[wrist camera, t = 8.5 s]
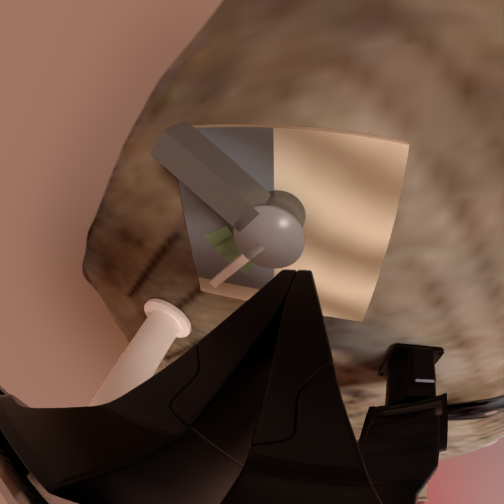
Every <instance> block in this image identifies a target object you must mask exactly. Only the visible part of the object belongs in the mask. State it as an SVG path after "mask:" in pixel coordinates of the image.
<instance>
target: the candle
mask: <svg viewBox="0 0 504 504" xmlns="http://www.w3.org/2000/svg"><path fill="white" fill-rule="evenodd" d="M144 311H145V314H146V316H147V319H146V320H145V322H144V323H143V324H142V326H141V327H140V329H139V330H138V332H137V333H136V334H135V336H134V337H133V339H132V340H131V342H130V343H129V345H128V346H127V348H126V349H125V351H124V352H123V353H122V355H121V356H120V358H119V360H118V361H117V363H116V364H115V366H114V367H113V368H112V370H111V372H110V373H109V375H108V376H107V378H106V379H105V381H104V382H103V384H102V385H101V387H100V388H99V390H98V392H97V393H96V395H95V396H94V398H93V400H92V401H91V403H90V404H89V406H97V405H102V404H105V403H108V402H111V401H113V400H115V399H117V398H119V397H121V396H122V395H124V394H126V393H127V392H129V391H130V390H132V389H134V388H135V387H137V386H138V385H140V384H142V383H143V382H145V381H146V380H148V379H149V378H151V377H152V376H153V375H154V373H155V371H156V370H157V368H158V366H159V365H160V363H161V361H162V359H163V358H164V356H165V354H166V353H167V351H168V349H169V348H170V346H171V344H172V343H173V341H174V339H175V338H176V337H179V338H183V337H186V336H188V335H189V333H190V332H191V324H190V321H189V320H188V318H187V317H186V315H185V314H184V313H183V312H182V311H181V310H180V309H178V308H177V307H176V306H174V305H173V304H171V303H169V302H167V301H164V300H162V299H157V298H153V299H149V300H148V301H147V302H146V303H145V305H144Z"/></svg>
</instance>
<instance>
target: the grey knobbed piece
mask: <svg viewBox="0 0 504 504" xmlns="http://www.w3.org/2000/svg"><path fill="white" fill-rule="evenodd" d="M150 155H151V156H152V157H154V158H155V159H156V160H157V161H158V162H159V163H161V164H162V165H163V166H164V167H165V168H166V169H167V170H169V171H170V172H171V173H172V174H173V175H174V176H175V177H177V178H178V179H179V180H180V181H181V182H182V183H184V184H185V185H186V186H187V187H188V188H189V189H190V190H192V191H193V192H194V193H195V194H196V195H197V196H198V197H200V198H201V199H202V200H203V201H204V202H205V203H206V204H208V205H209V206H210V207H211V208H212V209H213V210H214V211H216V212H217V213H218V214H219V215H220V216H221V217H222V218H224V219H225V220H226V221H227V222H228V223H229V224H230V225H232V226H233V227H234V232H233V233H234V240H235V243H236V245H237V247H238V249H239V250H240V252H241V253H242V254H241V255H240V256H238V257H237V258H236V259H235V260H234V261H232V262H231V263H230V264H229V265H228V266H227V267H225V268H224V269H223V270H222V271H221V272H220V273H218V274H217V275H216V276H215V277H214V278H212V279H211V281H210V282H209V283H210V284H211V285H212V286H213V287H215V288H216V287H217V286H218V285H219V284H221V283H222V282H223V281H225V280H226V279H227V278H228V277H230V276H231V275H232V274H233V273H235V272H236V271H237V270H238V269H240V268H241V267H242V266H243V265H245V264H246V263H247V262H249V261H251V262H253V263H255V264H257V265H259V266H262V267H266V268H273V269H277V268H284V267H287V266H290V265H292V264H293V263H295V262H296V261H297V260H298V259H299V258H300V256H301V254H302V252H303V249H304V245H305V233H304V230H303V226H304V223H305V219H306V213H305V209H304V206H303V204H302V203H301V201H300V200H299V199H298V198H297V197H296V196H294V195H293V194H291V193H289V192H286V191H281V190H274V191H269V192H268V191H267V190H266V189H264V188H263V187H262V186H261V185H260V184H259V183H258V182H257V181H256V180H254V179H253V178H252V177H251V176H250V175H249V174H248V173H247V172H246V171H244V170H243V169H242V168H241V167H240V166H239V165H238V164H236V163H235V162H234V161H233V160H232V159H231V158H230V157H228V156H227V155H226V154H225V153H224V152H223V151H221V150H220V149H219V148H218V147H217V146H216V145H214V144H213V143H212V142H211V141H210V140H209V139H207V138H206V137H205V136H204V135H203V134H201V133H200V132H199V131H198V130H197V129H195V128H194V127H193V126H192V125H190V124H189V123H188V122H187V121H184V122H182V123H179V124H177V125H174V126H172V127H169V128H167V129H165V130H163V132H162V133H161V135H160V137H159V139H158V140H157V142H156V144H155V146H154V148H153V149H152V151H151V153H150Z"/></svg>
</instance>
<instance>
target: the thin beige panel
mask: <svg viewBox="0 0 504 504" xmlns="http://www.w3.org/2000/svg"><path fill="white" fill-rule="evenodd" d="M192 126H193V127H194V128H195V129H197V130H198V131H199V132H200V133H201V134H203V135H204V136H205V137H206V138H207V139H209V140H210V141H211V142H212V143H213V144H214V145H216V146H217V147H218V148H219V149H220V150H221V151H223V152H224V153H225V154H226V155H227V156H228V157H230V158H231V159H232V160H233V161H234V162H235V163H236V164H238V165H239V166H240V167H241V168H242V169H243V170H244V171H246V172H247V173H248V174H249V175H250V176H251V177H252V178H253V179H254V180H256V181H257V182H258V183H259V184H260V185H261V186H262V187H263V188H264V189H266V190H267V191H268V192H269V191H274V190H281V191H286V192H289V193H291V194H293V195H294V196H296V197H297V198H298V199H299V200H300V201H301V203H302V204H303V206H304V209H305V213H306V219H305V223H304V226H303V230H304V233H305V245H304V249H303V252H302V254H301V256H300V258H299V259H298V260H297V261H296V262H295V263H293V264H292V265H290V266H287V267H284V268H277V269H273V268H266V267H262V266H259V265H257V264H255V263H253V262H251V261H249V262H247V263H246V264H245V265H243V266H242V267H241V268H240V269H238V270H237V271H236V272H235V273H233V274H232V275H231V276H230V277H228V278H227V279H226V280H225V281H223V282H222V283H221V284H219V285H218V286H217V287H216V288H215V287H213V286H212V285H211V284H210V283H209V282H210V281H211V279H212V278H214V277H215V276H216V275H217V274H218V273H220V272H221V271H222V270H223V269H224V268H225V267H227V266H228V265H229V264H230V263H231V262H232V261H234V260H235V259H236V258H237V257H238V256H240V255H241V254H242V253H241V252H240V250H239V249H238V247H237V245H236V243H235V240H234V233H233V232H234V227H233V226H232V225H230V224H229V223H228V222H227V221H226V220H225V219H224V218H222V217H221V216H220V215H219V214H218V213H217V212H216V211H214V210H213V209H212V208H211V207H210V206H209V205H208V204H206V203H205V202H204V201H203V200H202V199H201V198H200V197H198V196H197V195H196V194H195V193H194V192H193V191H192V190H190V189H189V188H188V187H187V186H186V185H185V184H184V183H182V182H181V181H180V180H179V179H178V182H179V188H180V194H181V199H182V205H183V210H184V216H185V221H186V226H187V231H188V236H189V241H190V246H191V250H192V255H193V260H194V264H195V269H196V273H197V277H198V279H199V284H200V288H201V291H204V292H208V293H213V294H217V295H222V296H226V297H231V298H235V299H240V300H245V301H247V300H248V299H250V298H251V297H252V296H253V295H254V294H255V293H256V292H258V291H259V290H260V289H261V288H262V287H263V286H264V285H266V284H267V283H268V282H269V281H270V280H271V279H272V278H274V277H275V276H276V275H277V274H278V273H279V272H280V271H281V270H284V269H289V270H296V271H298V270H311V271H312V273H313V277H314V281H315V285H316V289H317V293H318V297H319V301H320V305H321V309H322V313H323V315H324V316H330V317H336V318H342V319H348V320H355V321H361V322H363V319H364V316H365V314H366V311H367V308H368V306H369V303H370V300H371V297H372V294H373V292H374V289H375V286H376V283H377V280H378V277H379V274H380V270H381V267H382V264H383V261H384V257H385V254H386V251H387V247H388V244H389V240H390V236H391V232H392V229H393V225H394V221H395V217H396V212H397V208H398V204H399V199H400V195H401V190H402V185H403V180H404V174H405V169H406V163H407V157H408V150H409V144H408V143H407V142H406V141H402V140H397V139H392V138H387V137H381V136H375V135H369V134H363V133H356V132H349V131H342V130H333V129H324V128H314V127H302V126H287V125H264V124H214V125H192Z"/></svg>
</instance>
